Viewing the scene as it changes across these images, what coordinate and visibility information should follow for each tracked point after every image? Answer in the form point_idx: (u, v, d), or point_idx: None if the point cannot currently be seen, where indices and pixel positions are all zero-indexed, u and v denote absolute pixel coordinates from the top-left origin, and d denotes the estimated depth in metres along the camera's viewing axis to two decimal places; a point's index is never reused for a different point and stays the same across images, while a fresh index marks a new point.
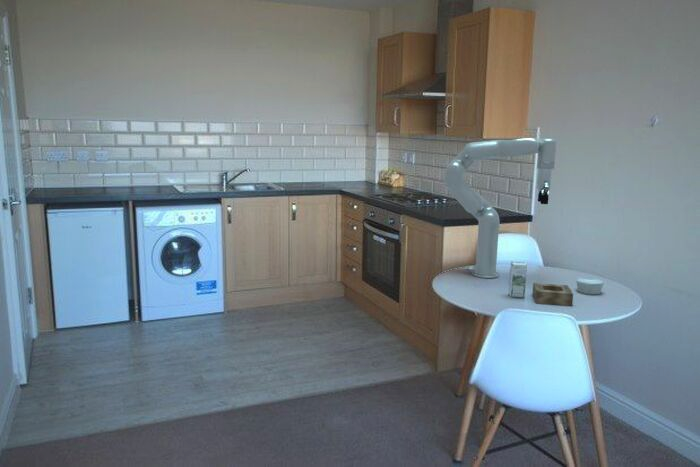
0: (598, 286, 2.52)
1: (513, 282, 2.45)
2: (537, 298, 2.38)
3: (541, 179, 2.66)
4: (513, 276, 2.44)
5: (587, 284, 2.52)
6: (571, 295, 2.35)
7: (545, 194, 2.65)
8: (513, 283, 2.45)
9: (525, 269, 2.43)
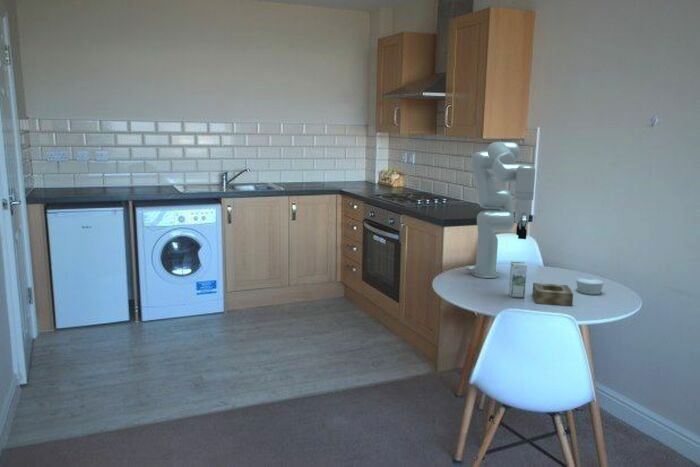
0: (598, 286, 2.52)
1: (513, 282, 2.45)
2: (537, 298, 2.38)
3: (518, 211, 2.38)
4: (513, 276, 2.44)
5: (587, 284, 2.52)
6: (571, 295, 2.35)
7: (523, 228, 2.37)
8: (513, 283, 2.45)
9: (525, 269, 2.43)
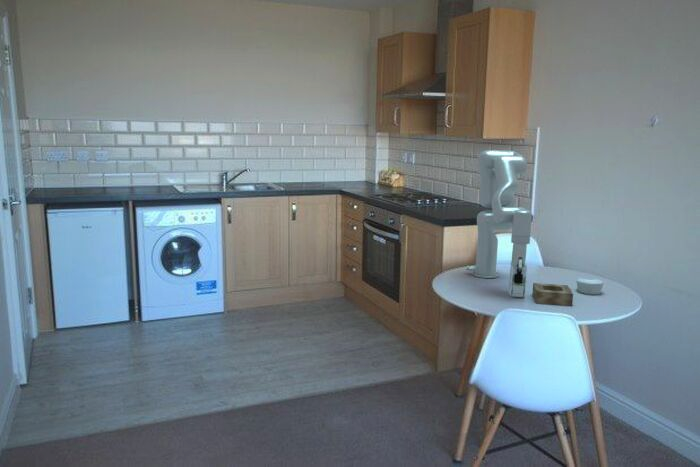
0: (598, 286, 2.52)
1: (513, 282, 2.45)
2: (537, 298, 2.38)
3: (515, 255, 2.41)
4: (513, 276, 2.44)
5: (587, 284, 2.52)
6: (571, 295, 2.35)
7: (519, 274, 2.42)
8: (513, 283, 2.45)
9: (525, 269, 2.43)
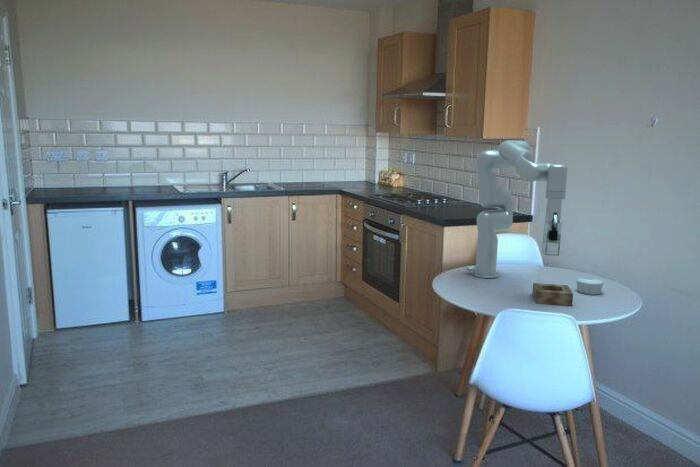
0: (598, 286, 2.52)
1: (547, 240, 2.37)
2: (537, 298, 2.38)
3: (550, 211, 2.34)
4: (547, 233, 2.37)
5: (587, 284, 2.52)
6: (571, 295, 2.35)
7: (554, 230, 2.34)
8: (547, 240, 2.37)
9: (560, 225, 2.36)
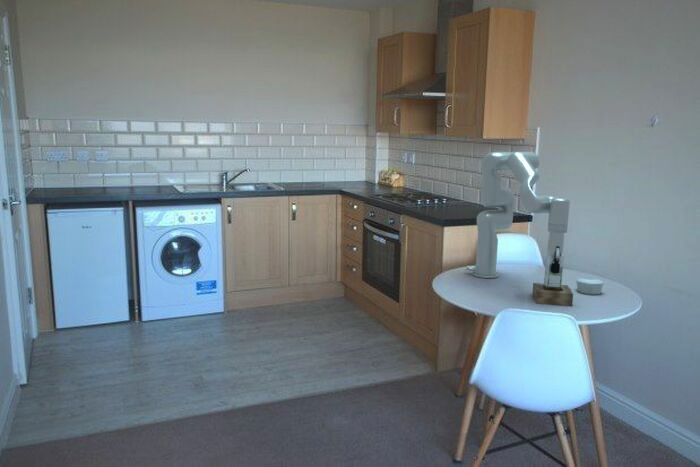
0: (598, 286, 2.52)
1: (549, 272, 2.39)
2: (537, 298, 2.38)
3: (552, 244, 2.35)
4: (550, 266, 2.39)
5: (587, 284, 2.52)
6: (571, 295, 2.35)
7: (556, 263, 2.36)
8: (550, 273, 2.39)
9: (562, 258, 2.38)
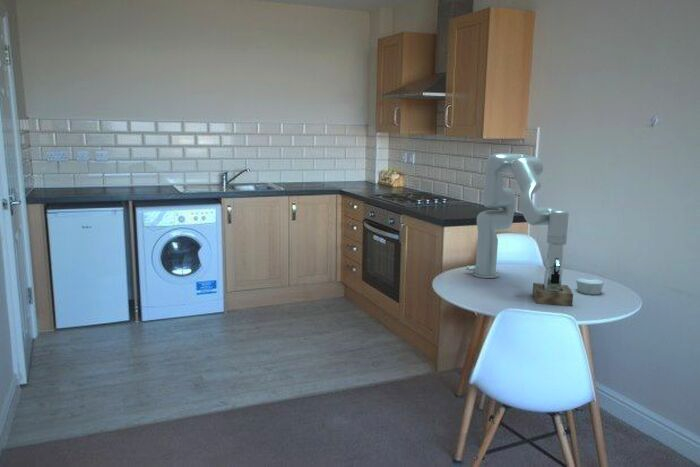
0: (598, 286, 2.52)
1: (548, 286, 2.40)
2: (537, 298, 2.38)
3: (551, 256, 2.36)
4: (548, 279, 2.40)
5: (587, 284, 2.52)
6: (571, 295, 2.35)
7: (556, 273, 2.35)
8: (548, 287, 2.40)
9: (561, 272, 2.39)
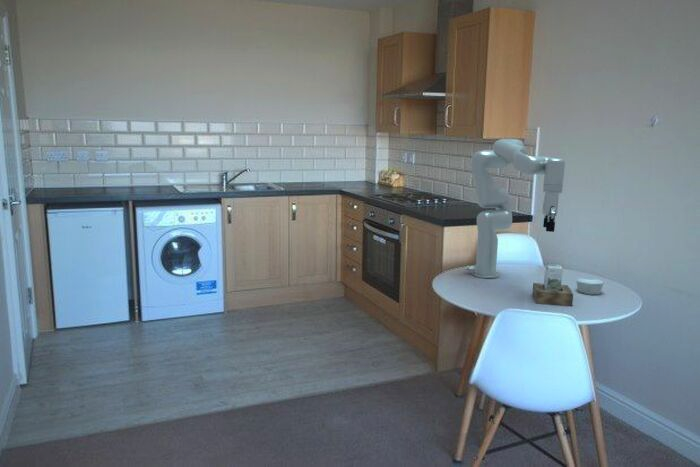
0: (598, 286, 2.52)
1: (548, 286, 2.40)
2: (537, 298, 2.38)
3: (547, 204, 2.38)
4: (548, 279, 2.40)
5: (587, 284, 2.52)
6: (571, 295, 2.35)
7: (551, 221, 2.37)
8: (548, 287, 2.40)
9: (561, 272, 2.39)
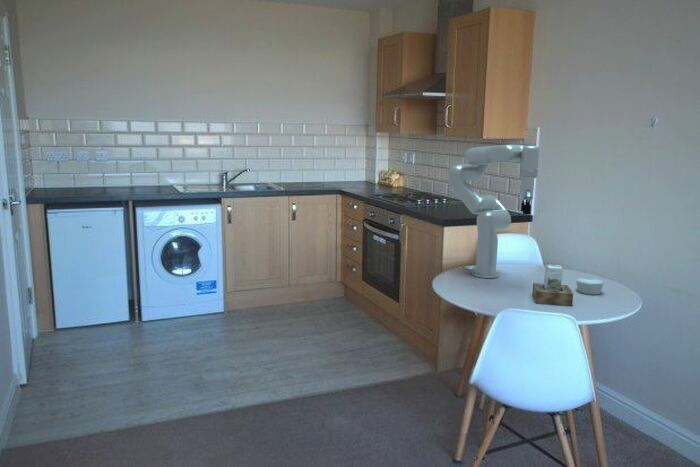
0: (598, 286, 2.52)
1: (548, 286, 2.40)
2: (537, 298, 2.38)
3: (523, 188, 2.54)
4: (548, 279, 2.40)
5: (587, 284, 2.52)
6: (571, 295, 2.35)
7: (527, 204, 2.53)
8: (548, 287, 2.40)
9: (561, 272, 2.39)
